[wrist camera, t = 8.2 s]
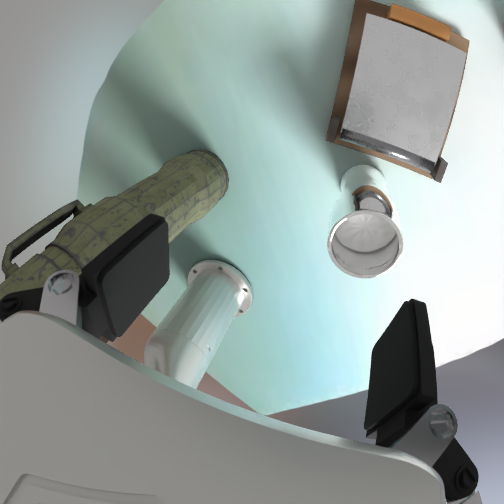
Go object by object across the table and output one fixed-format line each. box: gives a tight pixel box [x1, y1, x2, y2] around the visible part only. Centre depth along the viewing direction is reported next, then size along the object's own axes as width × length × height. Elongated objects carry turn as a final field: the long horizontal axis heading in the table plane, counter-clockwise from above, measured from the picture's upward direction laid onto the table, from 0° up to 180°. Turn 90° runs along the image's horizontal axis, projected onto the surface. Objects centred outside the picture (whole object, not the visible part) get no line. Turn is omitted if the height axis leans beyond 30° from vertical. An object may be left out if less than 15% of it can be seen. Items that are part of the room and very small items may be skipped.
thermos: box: [0, 150, 229, 343], centre depth 28 cm, size 9×12×35 cm
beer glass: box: [327, 165, 403, 278], centre depth 29 cm, size 7×7×15 cm
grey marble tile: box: [340, 13, 467, 173], centre depth 23 cm, size 15×11×2 cm
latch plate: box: [326, 0, 469, 183], centre depth 24 cm, size 19×14×6 cm
